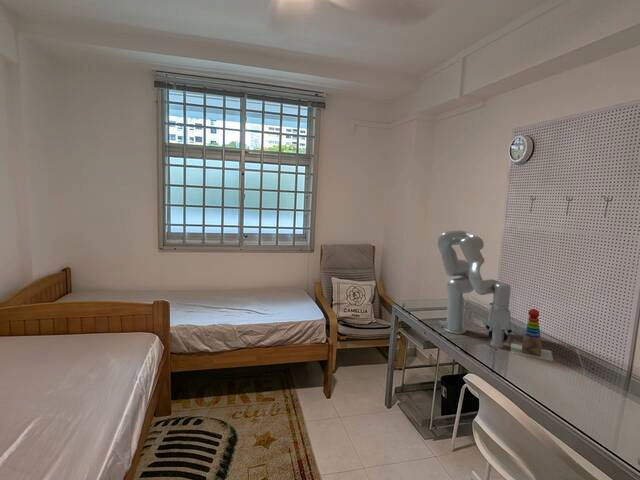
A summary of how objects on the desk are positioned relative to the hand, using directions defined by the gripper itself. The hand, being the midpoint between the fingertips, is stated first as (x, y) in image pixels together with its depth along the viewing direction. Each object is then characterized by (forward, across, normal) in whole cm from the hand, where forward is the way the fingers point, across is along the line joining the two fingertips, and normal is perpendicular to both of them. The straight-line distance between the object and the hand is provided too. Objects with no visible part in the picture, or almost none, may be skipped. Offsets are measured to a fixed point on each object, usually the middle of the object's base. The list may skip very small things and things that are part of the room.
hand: (497, 339), depth 180 cm
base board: (+5, +15, +1) cm, 16 cm away
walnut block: (+3, +15, +1) cm, 16 cm away
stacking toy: (+5, +16, +19) cm, 25 cm away
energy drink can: (+5, 0, 0) cm, 5 cm away
